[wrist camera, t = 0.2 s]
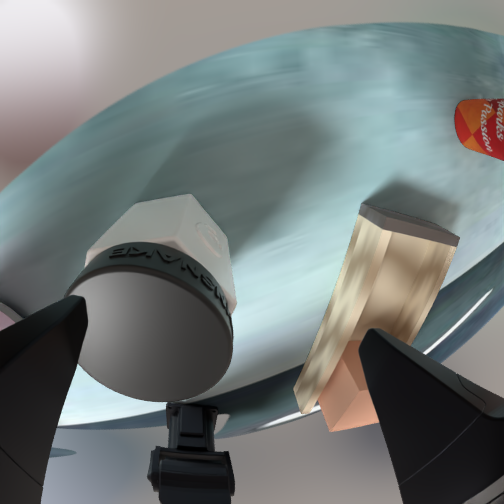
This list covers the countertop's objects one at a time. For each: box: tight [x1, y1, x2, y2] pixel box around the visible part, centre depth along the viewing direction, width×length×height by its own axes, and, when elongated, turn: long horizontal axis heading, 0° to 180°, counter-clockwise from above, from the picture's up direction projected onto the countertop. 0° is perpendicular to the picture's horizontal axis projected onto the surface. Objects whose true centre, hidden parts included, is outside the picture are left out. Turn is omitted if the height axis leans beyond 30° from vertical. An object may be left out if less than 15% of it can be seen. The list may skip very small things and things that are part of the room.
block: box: [318, 341, 379, 432], centre depth 26 cm, size 7×7×7 cm
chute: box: [293, 203, 460, 414], centre depth 26 cm, size 23×10×4 cm, turn 169°
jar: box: [63, 194, 237, 402], centre depth 16 cm, size 9×8×12 cm
